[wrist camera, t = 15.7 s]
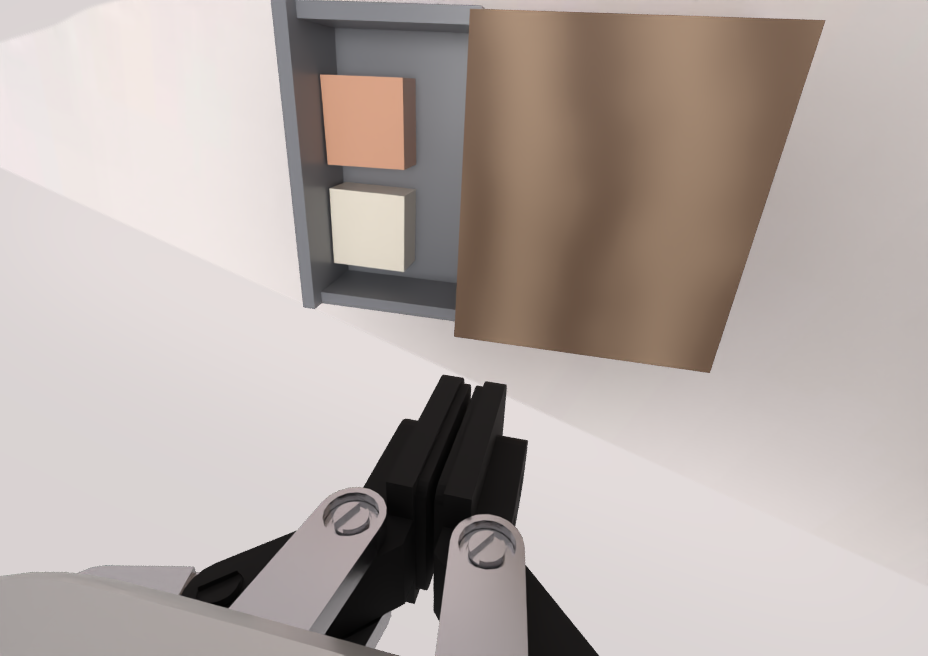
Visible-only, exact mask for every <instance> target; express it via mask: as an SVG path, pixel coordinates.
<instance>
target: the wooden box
mask: <svg viewBox="0 0 928 656" xmlns="http://www.w3.org/2000/svg"><path fill="white" fill-rule="evenodd" d="M824 23H825V20H800V19H770V18H739V17H709V16H678V15H648V14H617V13H586V12H556V11H525V10H495V9H470V17H469V38H468V59H467V80H466V100H465V121H464V142H463V163H462V184H461V205H460V225H459V246H458V267H457V288H456V309H455V330H454V337H461V338H468V339H475V340H482V341H489V342H496V343H503V344H510V345H517V346H524V347H531V348H538V349H545V350H552V351H559V352H566V353H573V354H580V355H587V356H594V357H601V358H608V359H615V360H622V361H629V362H636V363H643V364H651V365H658V366H665V367H672V368H679V369H686V370H693V371H700V372H707V373H710V371H711V368H712V365H713V361H714V358H715V355H716V352H717V349H718V346H719V343H720V340H721V337H722V334H723V331H724V328H725V325H726V322H727V319H728V316H729V313H730V310H731V307H732V304H733V301H734V297H735V294H736V291H737V288H738V285H739V282H740V279H741V276H742V273H743V270H744V267H745V264H746V261H747V258H748V255H749V252H750V249H751V246H752V243H753V240H754V237H755V233H756V230H757V227H758V224H759V221H760V218H761V215H762V212H763V209H764V206H765V203H766V200H767V197H768V194H769V191H770V188H771V185H772V182H773V179H774V176H775V173H776V169H777V166H778V163H779V160H780V157H781V154H782V151H783V148H784V145H785V142H786V139H787V136H788V133H789V130H790V127H791V124H792V121H793V118H794V115H795V112H796V109H797V105H798V102H799V99H800V96H801V93H802V90H803V87H804V84H805V81H806V78H807V75H808V72H809V69H810V66H811V63H812V60H813V57H814V54H815V51H816V48H817V45H818V41H819V38H820V35H821V32H822V29H823V26H824Z"/></svg>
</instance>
